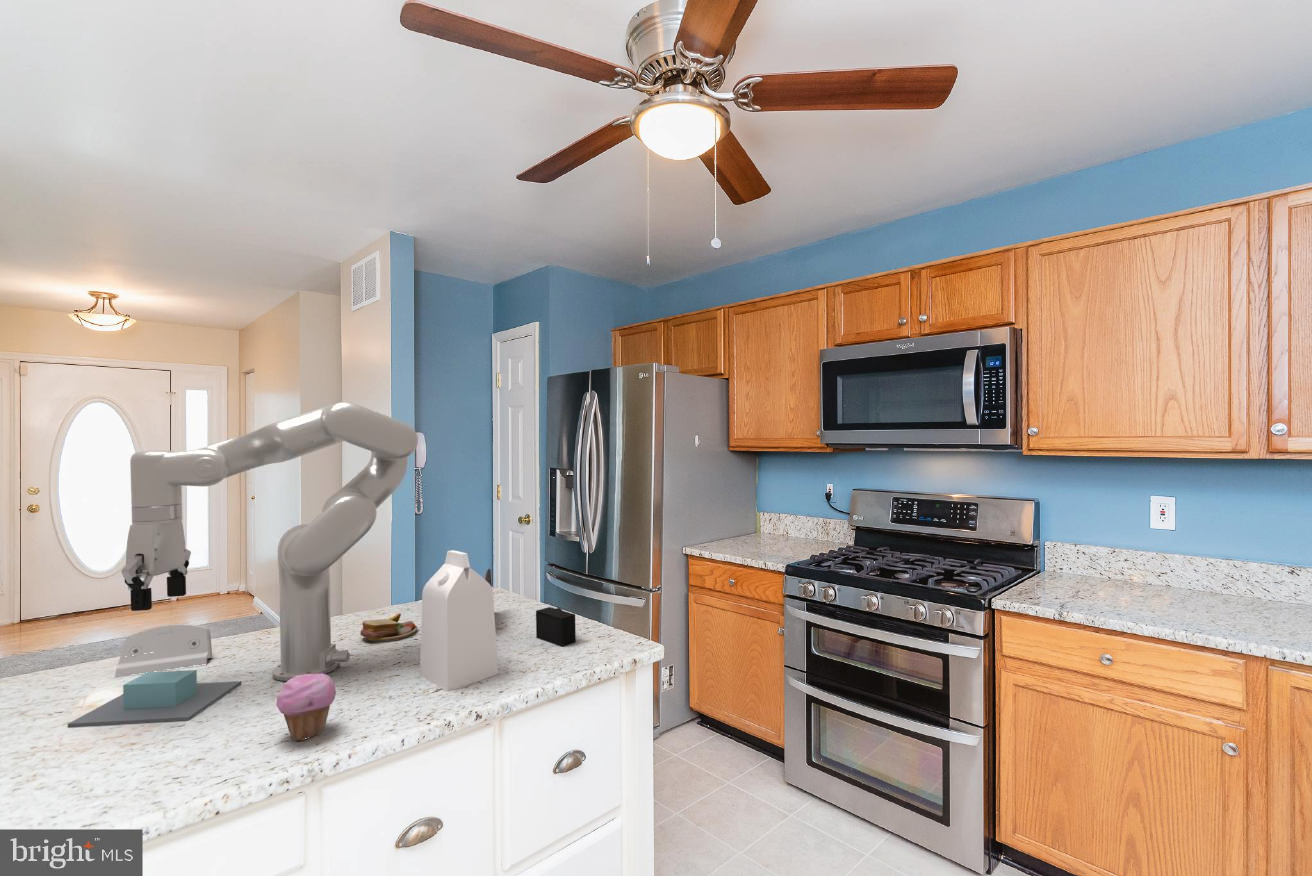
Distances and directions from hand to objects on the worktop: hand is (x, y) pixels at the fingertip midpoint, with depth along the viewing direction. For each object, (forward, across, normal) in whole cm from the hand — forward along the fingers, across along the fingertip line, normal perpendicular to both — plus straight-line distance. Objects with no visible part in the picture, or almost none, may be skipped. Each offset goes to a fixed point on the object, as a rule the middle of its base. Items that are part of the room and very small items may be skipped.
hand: (159, 602), depth 116 cm
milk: (+20, -4, +55) cm, 58 cm away
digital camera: (+20, -23, +75) cm, 81 cm away
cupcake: (+20, +18, +34) cm, 43 cm away
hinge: (+20, -20, -12) cm, 31 cm away
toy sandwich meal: (+20, -34, +32) cm, 50 cm away
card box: (+18, +1, +1) cm, 19 cm away
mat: (+19, +1, +1) cm, 19 cm away
